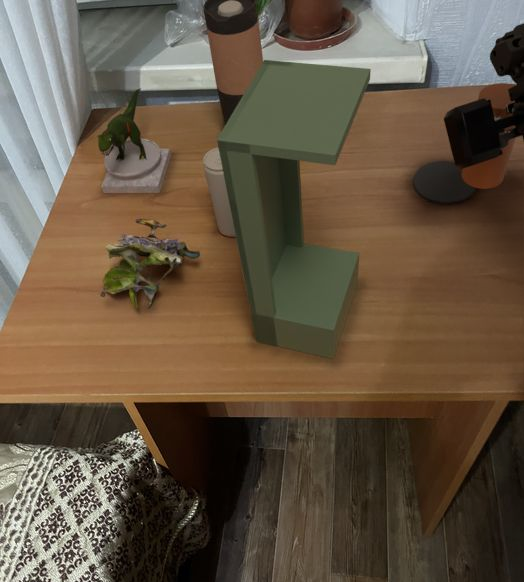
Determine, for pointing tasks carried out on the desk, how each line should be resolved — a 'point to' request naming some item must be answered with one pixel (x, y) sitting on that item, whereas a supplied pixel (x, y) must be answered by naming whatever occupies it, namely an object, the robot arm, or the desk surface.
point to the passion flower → (144, 247)
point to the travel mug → (233, 48)
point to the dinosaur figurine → (131, 156)
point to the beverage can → (218, 192)
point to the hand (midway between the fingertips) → (487, 133)
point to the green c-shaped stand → (290, 200)
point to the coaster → (442, 183)
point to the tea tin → (495, 168)
